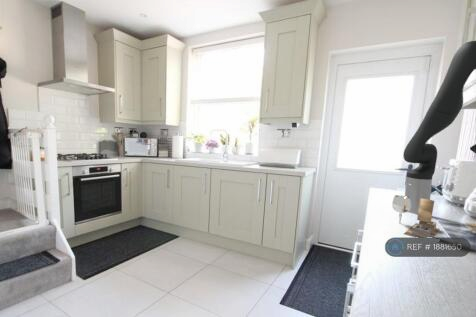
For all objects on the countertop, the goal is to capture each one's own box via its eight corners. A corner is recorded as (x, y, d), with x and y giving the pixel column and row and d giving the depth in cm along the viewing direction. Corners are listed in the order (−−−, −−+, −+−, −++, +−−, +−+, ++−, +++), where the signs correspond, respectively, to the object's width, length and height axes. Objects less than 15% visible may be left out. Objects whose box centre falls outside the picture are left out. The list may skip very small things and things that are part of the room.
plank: (415, 226, 86) (416, 216, 86) (439, 232, 81) (440, 222, 80) (402, 238, 74) (403, 226, 74) (429, 246, 69) (431, 233, 69)
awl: (416, 232, 76) (421, 198, 77) (429, 236, 74) (435, 201, 74) (413, 232, 74) (419, 197, 75) (427, 236, 71) (433, 200, 72)
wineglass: (402, 230, 81) (405, 199, 81) (387, 225, 87) (389, 195, 86) (412, 228, 84) (415, 198, 83) (396, 223, 89) (399, 194, 88)
